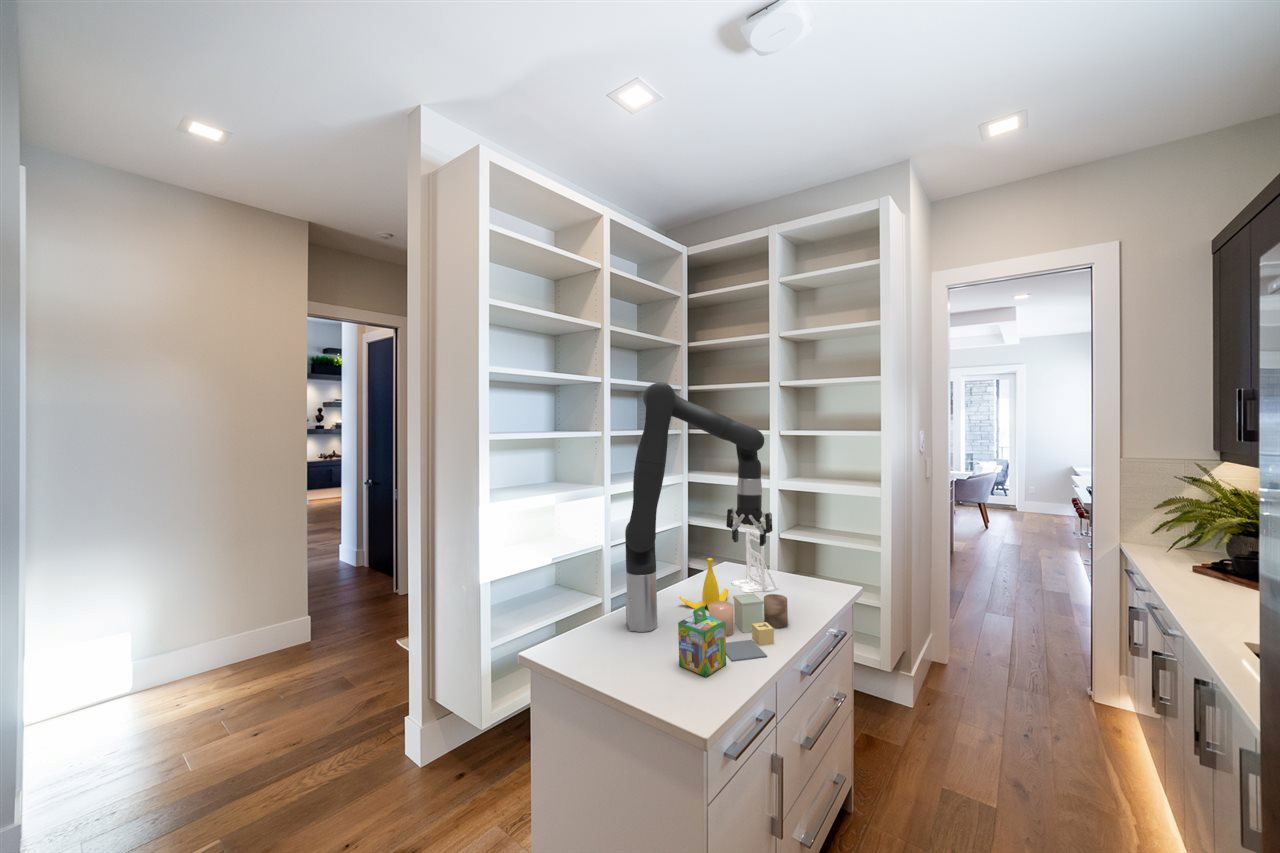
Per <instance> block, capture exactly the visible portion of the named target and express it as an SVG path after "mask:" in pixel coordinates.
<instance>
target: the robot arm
mask: <svg viewBox="0 0 1280 853" xmlns="http://www.w3.org/2000/svg"><path fill="white" fill-rule="evenodd" d="M642 400H643V403H644V406H645V418H644V419H645V420H644V427H643V432H642V435H641V438H640V441H639V444H638V447H637V448H638V449H637V451H636V455H635V461H634V469H633V480H632V481H633V482H632V492H633V494H632V497H633V498H632V499H633V501H632V509H631V513H630V518H629V522H628V523H627V525H626V527H625V531H624V533H625V535H624V536H625V572H626V578H625V579H626V593H625V621H626V622H625V623H626V626H627V628H628V629H627V630H628V631H629V632H637V633H646V632H651V631H654V630H656V629H657V627H658V599H657V596H658V595H657V593H658V592H657V590H658V589H657V587H658V586H657V558H656V539H657V538H656V537H657V530H656V528H657V510H658V505H659V502H660V501H659V500H660V497H661V496H660V495H661V491H662V487H663V482H664V476H665V471H666V466H667V465H666V463H667V455H668V454H667V453H668V441H669V440H668V439H669V428H670V425H671V419H672V417H673V418H676V419H677V420H678V419H679V420H681V421H683V422H686V423H688V424H690V425H691V426H694V427H695V428H697V429H699V430H701V431H703V432H705V433H708V434H709V435H712V436H714V437H716V438H718V439H721V440H723V441H728V442H730V443H732V444H734V445H735V447H736V448H735V449H736V450H735V451H736V455H737V461H738V462H737V464H738V466H737V469H738V470H737V485H736V487H737V488H736V509H735V508H733V507H731V508H728V509H727V511H726V523H725V524H726V528H728V529H731V539H732V541H733V543H738V542H739V528H740V527H741V525H744V526H745V525H749V526H752V527H753V526H754V527H755V528H756V529H757V530H758V532H759V535H760V538H759V539H760V543H759V547H761V546H764V547H765V545H766V543H767V534H769V533H772V532H773V515H772V514H773V513H771V512H763V511H762V507H763V506H762V498H763V496H762V495H763V486H762V485H763V483H762V462H761V461H760V460H759V458H758V451H759V450H761V449H762V448H763V446H764V445H765V437H764V435H763V433H762V432H761V431H760V430H758V429H757V428H755V427H751V426H750V425H746V424H744V423H742V422H738V421H736V420H734V419H732V418H731V417H728V416H726V415H723V414H721V413H719V412H717V411H715V410H712V409H710V408H707V407H704V406H701V405H698V404H695V403H693V402H691V401H688V400H686V399H684V398H682V397H681V396H679V395H677V394H676V392H675V390H674V388H673V386H671V385H670V384H669V383H666V382H661V381H660V382H655V383H653V384H650V385H648V387H647V388H646V389H645V390H644V392H643V397H642ZM735 515H736V516H737V519H736V521H735V522H734V516H735ZM762 518H763V520H764V521H765V526H764V523H763V521H762V520H761V519H762Z"/></svg>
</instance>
